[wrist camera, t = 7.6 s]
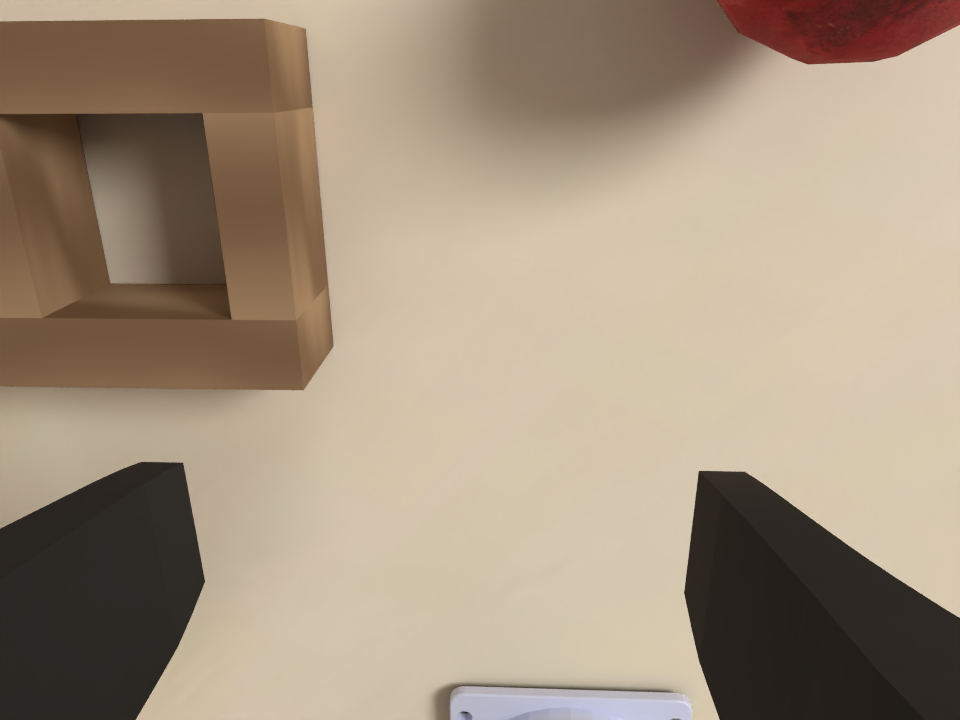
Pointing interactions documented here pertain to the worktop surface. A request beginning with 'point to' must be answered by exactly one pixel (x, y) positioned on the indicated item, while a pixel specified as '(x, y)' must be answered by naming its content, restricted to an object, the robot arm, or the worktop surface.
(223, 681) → the worktop surface
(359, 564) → the worktop surface
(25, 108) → the hole block
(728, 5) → the onion
